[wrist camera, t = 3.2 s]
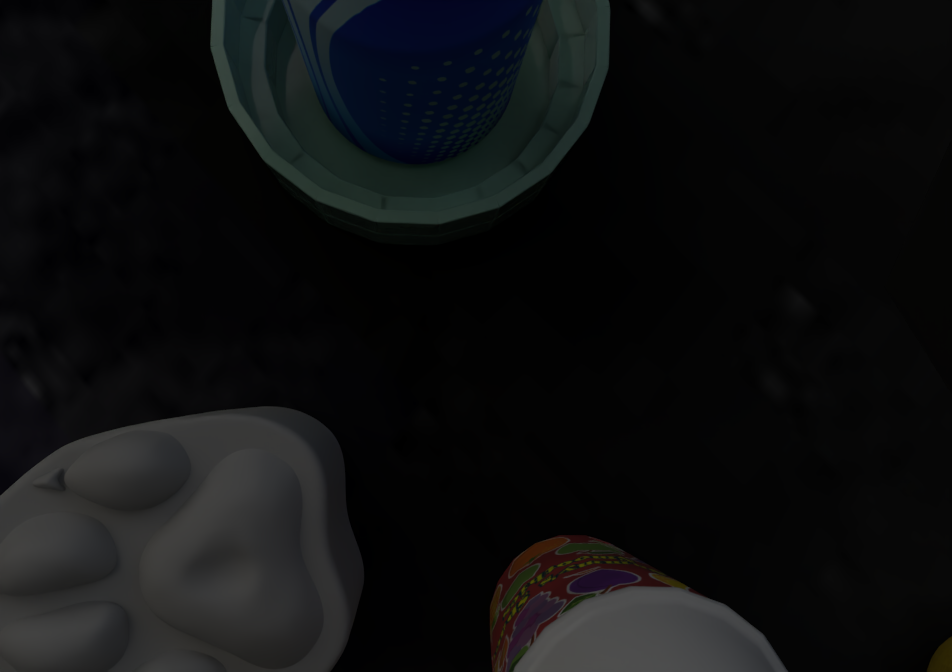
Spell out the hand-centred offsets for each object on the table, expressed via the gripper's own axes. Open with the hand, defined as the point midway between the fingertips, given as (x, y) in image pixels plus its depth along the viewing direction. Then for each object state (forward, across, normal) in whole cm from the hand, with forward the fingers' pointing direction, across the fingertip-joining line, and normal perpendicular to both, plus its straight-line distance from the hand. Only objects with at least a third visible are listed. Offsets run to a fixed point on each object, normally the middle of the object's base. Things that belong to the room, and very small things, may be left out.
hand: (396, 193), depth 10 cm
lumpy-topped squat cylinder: (+13, -9, -26) cm, 30 cm away
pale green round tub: (+27, 0, -11) cm, 29 cm away
